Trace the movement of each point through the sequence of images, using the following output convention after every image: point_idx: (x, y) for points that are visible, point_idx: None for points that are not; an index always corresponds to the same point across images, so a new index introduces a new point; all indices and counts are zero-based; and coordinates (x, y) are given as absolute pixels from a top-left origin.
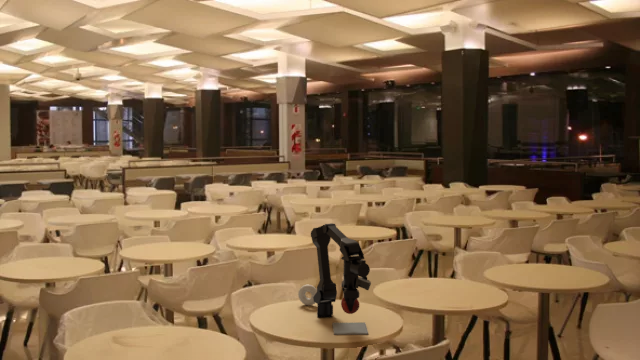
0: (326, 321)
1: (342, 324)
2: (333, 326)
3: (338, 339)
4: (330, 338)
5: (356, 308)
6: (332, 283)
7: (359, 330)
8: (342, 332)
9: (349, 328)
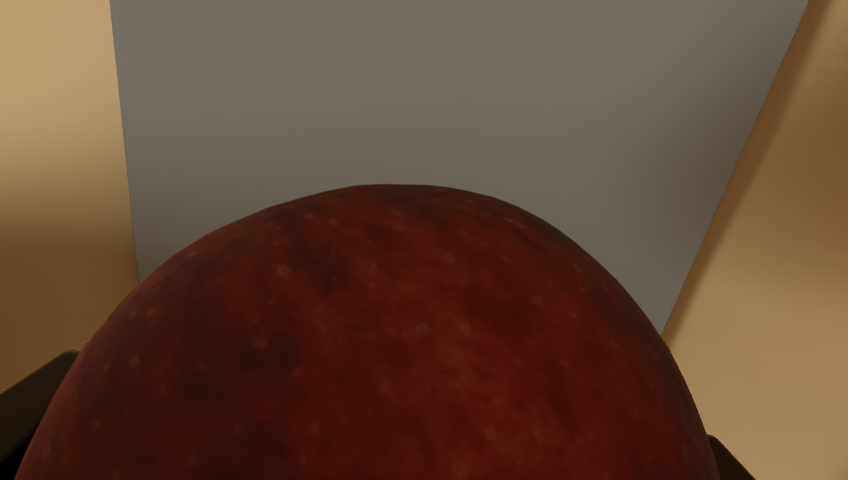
0: (36, 356)
1: (235, 216)
2: None
3: (836, 368)
4: (749, 435)
5: (667, 347)
6: None
7: (634, 3)
8: (635, 295)
9: (465, 155)
